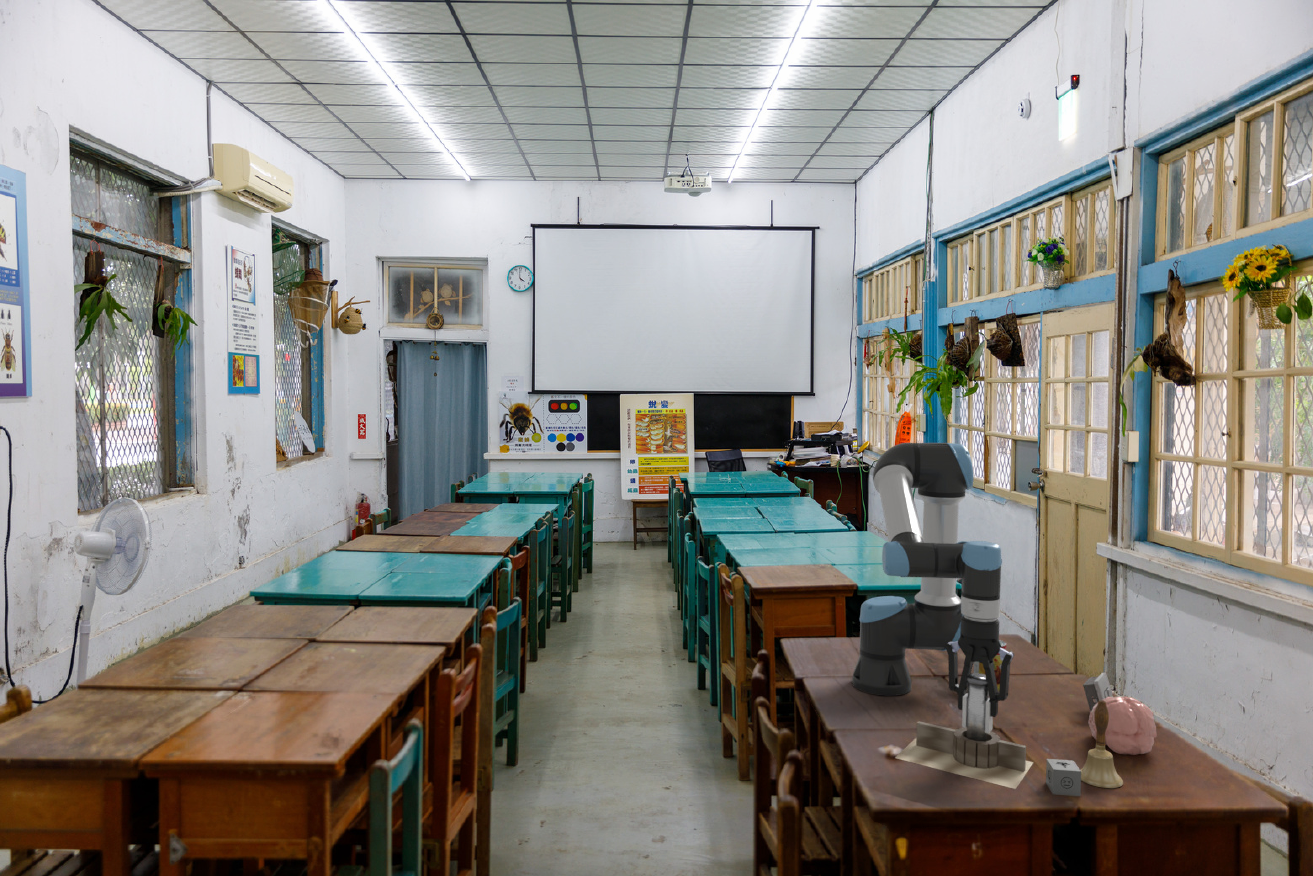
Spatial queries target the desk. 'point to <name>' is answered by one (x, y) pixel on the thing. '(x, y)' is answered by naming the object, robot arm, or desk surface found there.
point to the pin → (976, 706)
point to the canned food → (997, 665)
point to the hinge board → (961, 769)
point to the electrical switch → (1097, 689)
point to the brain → (1127, 726)
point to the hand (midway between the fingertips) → (977, 728)
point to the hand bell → (1100, 755)
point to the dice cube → (1063, 777)
